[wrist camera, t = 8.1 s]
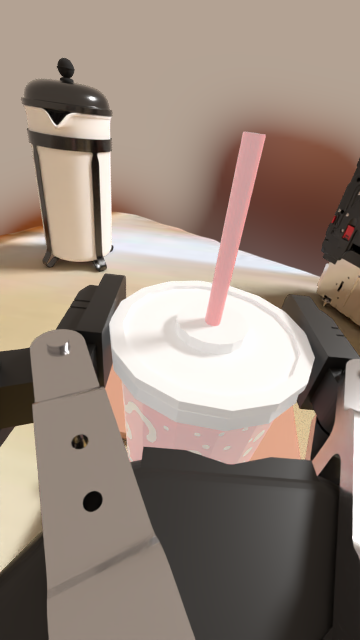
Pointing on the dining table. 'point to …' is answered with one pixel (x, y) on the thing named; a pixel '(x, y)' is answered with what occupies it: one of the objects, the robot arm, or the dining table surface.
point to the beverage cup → (208, 352)
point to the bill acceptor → (343, 255)
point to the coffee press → (71, 166)
